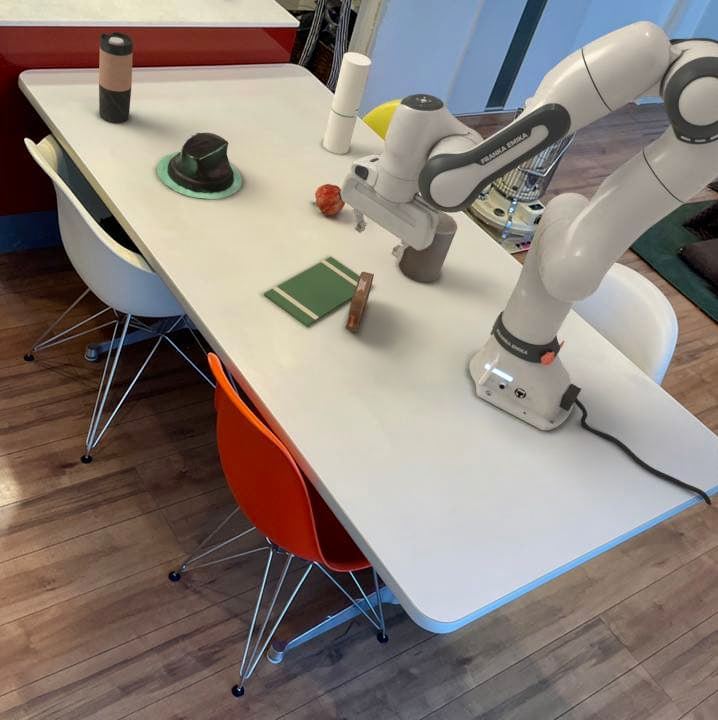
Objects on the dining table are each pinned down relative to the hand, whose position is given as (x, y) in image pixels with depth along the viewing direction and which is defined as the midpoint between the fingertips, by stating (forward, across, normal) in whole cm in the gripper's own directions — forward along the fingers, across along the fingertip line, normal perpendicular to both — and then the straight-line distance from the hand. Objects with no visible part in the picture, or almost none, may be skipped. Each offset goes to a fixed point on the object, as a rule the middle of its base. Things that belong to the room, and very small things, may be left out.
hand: (377, 242), depth 150 cm
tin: (+19, 0, 0) cm, 19 cm away
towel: (+19, +10, 0) cm, 21 cm away
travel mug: (+20, +87, -9) cm, 89 cm away
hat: (+19, +56, -9) cm, 60 cm away
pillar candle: (+19, +1, -26) cm, 32 cm away
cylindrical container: (+19, +48, -52) cm, 73 cm away
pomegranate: (+19, +29, -25) cm, 43 cm away
